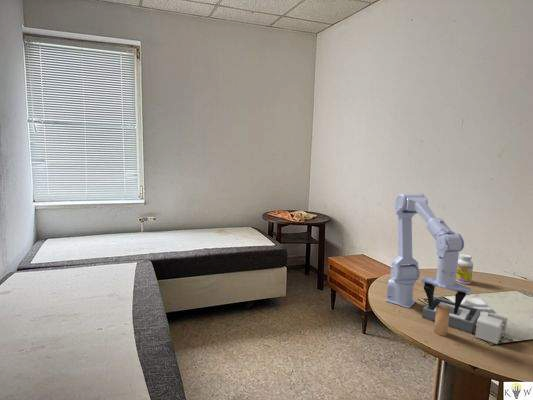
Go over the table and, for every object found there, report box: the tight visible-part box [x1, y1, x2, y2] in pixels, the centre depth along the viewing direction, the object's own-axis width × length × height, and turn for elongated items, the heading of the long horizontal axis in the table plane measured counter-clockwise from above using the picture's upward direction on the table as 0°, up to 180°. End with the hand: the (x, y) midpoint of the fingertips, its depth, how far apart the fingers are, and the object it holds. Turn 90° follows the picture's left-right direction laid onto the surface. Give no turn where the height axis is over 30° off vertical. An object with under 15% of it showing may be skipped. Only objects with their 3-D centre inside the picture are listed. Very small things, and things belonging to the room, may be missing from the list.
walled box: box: [422, 296, 482, 334], centre depth 127 cm, size 16×14×4 cm
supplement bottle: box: [456, 253, 474, 285], centre depth 162 cm, size 7×7×13 cm
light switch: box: [449, 295, 495, 313], centre depth 138 cm, size 11×4×13 cm
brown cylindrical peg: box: [433, 305, 450, 337], centre depth 116 cm, size 4×4×9 cm
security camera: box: [474, 312, 509, 345], centre depth 114 cm, size 6×7×10 cm
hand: (442, 309), depth 115 cm, fingers open, 7 cm apart
